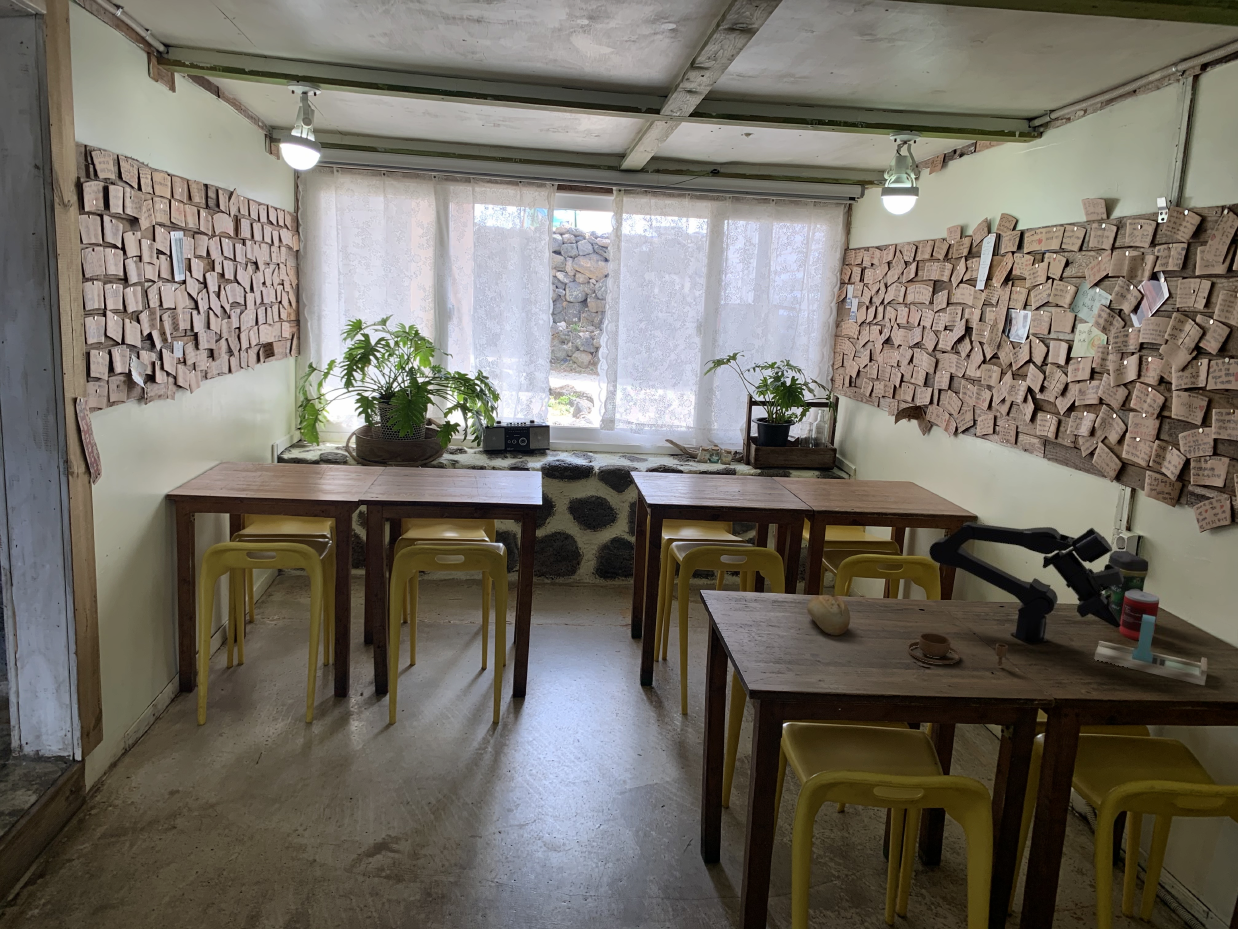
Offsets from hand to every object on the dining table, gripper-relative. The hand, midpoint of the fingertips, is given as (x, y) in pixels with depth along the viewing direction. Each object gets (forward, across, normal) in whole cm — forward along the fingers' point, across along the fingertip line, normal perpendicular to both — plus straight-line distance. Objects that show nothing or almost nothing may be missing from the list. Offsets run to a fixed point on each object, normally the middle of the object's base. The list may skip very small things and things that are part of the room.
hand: (1119, 626), depth 204 cm
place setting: (-16, -28, +29) cm, 43 cm away
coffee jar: (+5, +33, +7) cm, 34 cm away
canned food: (+8, +21, +4) cm, 23 cm away
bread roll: (-38, -26, +50) cm, 68 cm away
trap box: (+11, 0, +1) cm, 11 cm away
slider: (+9, 0, +1) cm, 9 cm away
